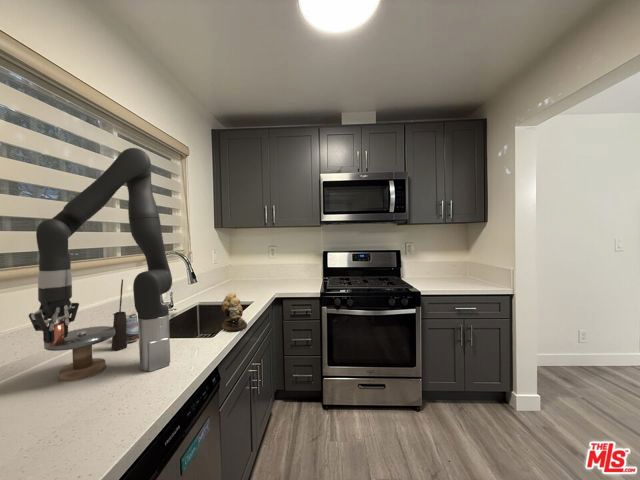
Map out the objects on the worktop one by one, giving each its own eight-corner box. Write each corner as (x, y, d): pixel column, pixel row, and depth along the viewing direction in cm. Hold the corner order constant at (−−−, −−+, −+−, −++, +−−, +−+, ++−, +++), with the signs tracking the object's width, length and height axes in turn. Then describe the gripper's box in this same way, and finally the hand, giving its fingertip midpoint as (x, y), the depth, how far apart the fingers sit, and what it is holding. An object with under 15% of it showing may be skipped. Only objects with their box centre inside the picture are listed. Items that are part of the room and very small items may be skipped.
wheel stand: (109, 371, 93) (107, 339, 93) (60, 385, 84) (58, 351, 84) (102, 360, 101) (101, 331, 101) (57, 372, 92) (56, 341, 92)
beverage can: (131, 344, 116) (130, 316, 116) (116, 343, 118) (115, 315, 117) (143, 339, 122) (142, 312, 122) (129, 338, 124) (128, 311, 124)
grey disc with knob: (86, 329, 103) (86, 309, 103) (128, 331, 100) (127, 310, 100) (26, 349, 85) (25, 325, 85) (74, 352, 82) (73, 327, 82)
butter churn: (112, 356, 105) (109, 282, 104) (97, 352, 109) (94, 281, 108) (136, 346, 113) (134, 278, 113) (121, 343, 117) (119, 278, 117)
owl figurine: (251, 330, 131) (250, 294, 131) (225, 334, 125) (224, 297, 125) (242, 320, 147) (241, 288, 146) (219, 324, 141) (218, 290, 141)
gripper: (65, 280, 92) (66, 332, 92) (17, 288, 78) (18, 349, 78) (87, 280, 92) (88, 332, 92) (43, 289, 78) (44, 350, 78)
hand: (56, 339), depth 85 cm, fingers closed on grey disc with knob, 3 cm apart
